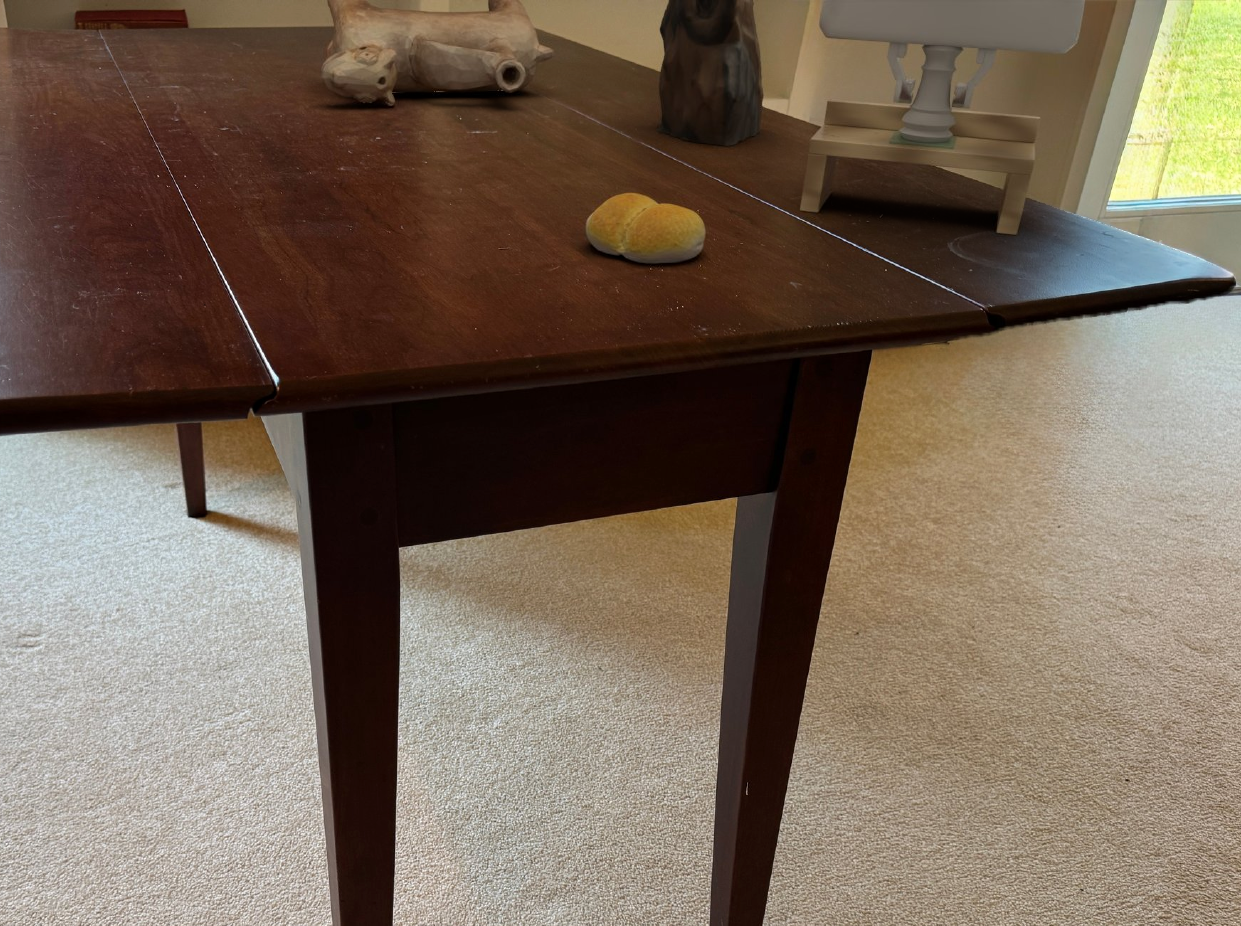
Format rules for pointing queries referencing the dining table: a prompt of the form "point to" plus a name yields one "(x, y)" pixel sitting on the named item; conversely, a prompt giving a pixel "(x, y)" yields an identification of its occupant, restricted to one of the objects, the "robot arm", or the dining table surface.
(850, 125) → the bench
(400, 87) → the ceramic vessel
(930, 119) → the rook chess piece
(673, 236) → the bread roll
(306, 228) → the dining table surface
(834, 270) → the dining table surface
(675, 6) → the owl
